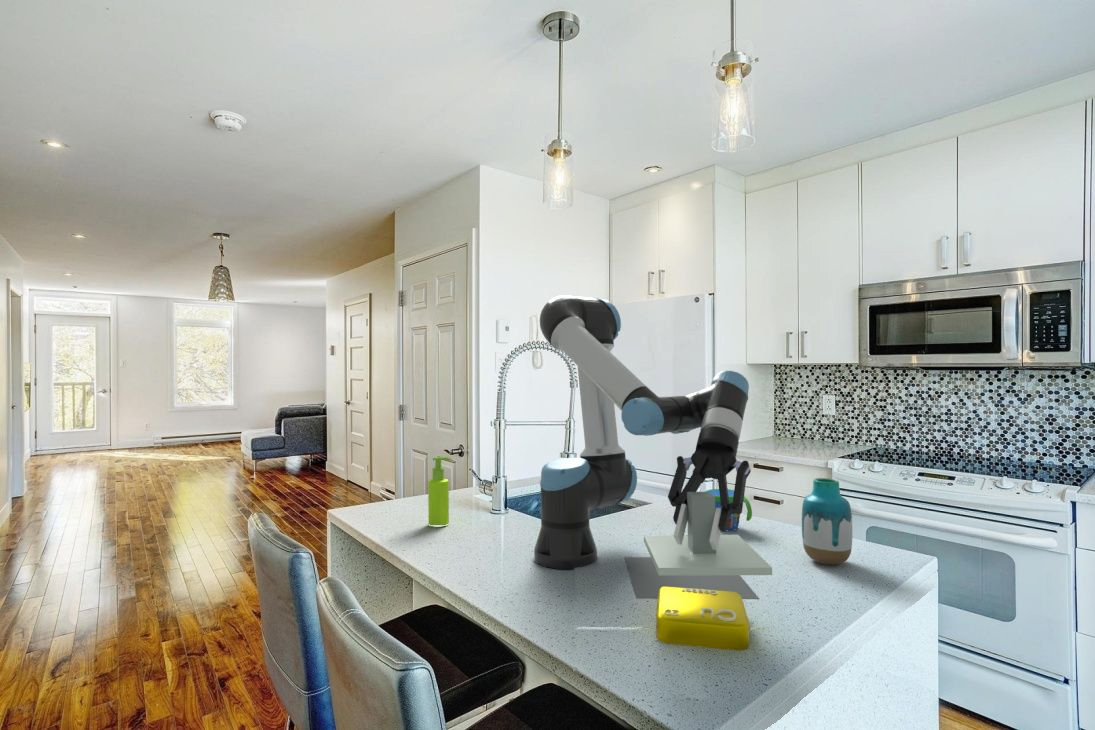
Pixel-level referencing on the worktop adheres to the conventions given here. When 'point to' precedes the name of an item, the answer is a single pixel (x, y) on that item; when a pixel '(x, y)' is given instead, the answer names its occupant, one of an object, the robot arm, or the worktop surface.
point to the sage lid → (703, 547)
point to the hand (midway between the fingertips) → (695, 542)
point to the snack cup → (733, 518)
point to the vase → (827, 523)
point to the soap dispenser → (438, 495)
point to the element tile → (702, 618)
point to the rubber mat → (680, 580)
